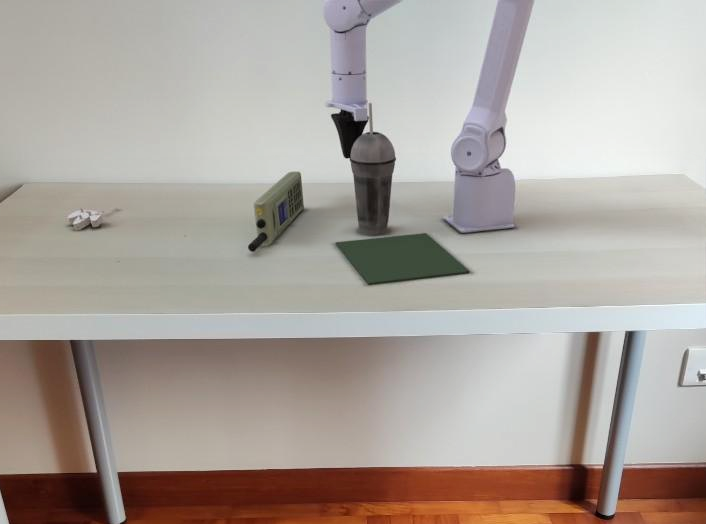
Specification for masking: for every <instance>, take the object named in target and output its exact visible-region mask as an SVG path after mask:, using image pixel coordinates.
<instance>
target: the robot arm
mask: <svg viewBox="0 0 706 524" xmlns="http://www.w3.org/2000/svg"><path fill="white" fill-rule="evenodd" d="M403 1H404V0H325V1H324V2H323V3H324V4H323V8H322V13H323V17H324V18H323V19H324V21H325V24H326V25H327V26H328V27H329V32H330V34H329V35H330V36H329V37H330V38H329V39H330V71H331V73H330V75H331V100H326V101H325V102H324V105H325V107H327V108H334V109H337V110H340V111H339V112H337V113H331V114H330V117H331V120H332V122H333V123H334V124H333V125H334V126H335V128H336V131H337V135H338V138H339V144H340V148H341V152H342V156H343V158H344V159H350V157H351V150H352V147H353V145H354V143H355V141H356V140H357V139H358V138H359V137H360V136H361V135H362V134H364V130H365V128H366V126H367V124H368V123H369V115H368V107H369V101H368V98H367V95H368V94H367V90H368V89H367V27H368V25H369V23H370V22H371V20H373V19H375V18H376V17H378V16H380V15H381V14H383V13H385V12H386V11H389V10H390V9H392V8H393V7H394V6H397V5H398V4H400V3H402V2H403ZM534 4H535V0H497V2H496V7H495V11H494V15H493V20H492V23H491V27H490V32H489V34H488V35H489V36H488V39H487V44H486V48H485V52H484V56H483V59H482V63H481V68H480V73H479V77H478V79H477V80H478V81H477V85H476V89H475V93H474V98H473V101H472V104H471V105H472V106H471V108H470V110H469V112H468V114H467V115H466V117H465V119H464V121H463V123H462V127H461V131H460V133H459V134H458V135H457V137H456V138H455V139H454V140H453V142H452V144H451V149H450V156H451V161H452V163H453V165H454V166H455V167H454V169H455V171H454V188H453V189H454V190H453V207H452V209H453V211H452V212H453V213H452V215H448V216H447V215H446V216H444V217H443V219H444V221H446V223H448V224H450V225H451V226H452V227H453V228H455V230H457V231H458V232H460V233H462V234H465V233H474V232H482V231H483V232H485V231H495V230H505V229H512V228H515V224H514V211H515V199H516V179H515V176H514V174H513V171H512V170H511V169H510V168H505V167H503V168H502V167H501V163H500V161H499V159H500V158H501V157H502V156H503V154H504V153H505V150H506V148H507V136H506V125H507V122H508V117H507V115H506V108H507V105H508V101H509V97H510V93H511V89H512V86H513V83H514V78H515V75H516V71H517V68H518V63H519V60H520V56H521V53H522V49H523V44H524V40H525V38H526V33H527V30H528V27H529V23H530V19H531V15H532V12H533V7H534Z"/></svg>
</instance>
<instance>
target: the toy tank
mask: <svg viewBox="0 0 706 524" xmlns="http://www.w3.org/2000/svg"><path fill="white" fill-rule="evenodd" d="M112 209H113V207H111V208H110V209H109V210H108V211H107V212H106V214H107V213H110V212H111V210H112ZM115 209H116V211H118V207H115ZM102 213H103V214H104V213H105V212H104V211H102ZM102 213H101V212H100V211H96V210H88V209H87V210H85V209H83V208H82V207H80V208H79V210H76V211H74V212H72V213H70V214H69V215H68V216H67V220H68V223H69V225H73V227H74V230H75V231H80V230H82V229H84V228H85V227H87V226H89V225H90V223H91V226H92V228H98V227H99V226H101V224H102V223H103V221H104V219H103V216H102Z"/></svg>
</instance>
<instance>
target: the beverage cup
mask: <svg viewBox="0 0 706 524" xmlns="http://www.w3.org/2000/svg"><path fill="white" fill-rule="evenodd" d="M368 117H369V120H368V124H369V125H368V126H369V131H367V132H363V134H362V135H361V136H360V137H359V138H358V139H357V140H356V141H355V143H354V145H353V147H352V150H351V157H350V158H349V161H350V167H351V172H352V175H353V186H354V195H355V206H356V216H357V223H358V231H359V233H360V234H362V235H366V236H380V235H381V236H382V235H384V234H386V233H387V231H388V222H389V217H390V206H391V195H392V183H393V174H394V171H395V167H396V161H397V157H396V152H395V151H396V150H395V147H394V145H393V143H392V141H391V140H390V139H389V138H388V137H387V136H386V134H383V133H382V132H379V131H374V129H373V128H374V126H373V125H374V123H373V122H374V121H373V104H372V102H368Z"/></svg>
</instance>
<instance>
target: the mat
mask: <svg viewBox="0 0 706 524" xmlns="http://www.w3.org/2000/svg"><path fill="white" fill-rule="evenodd" d="M335 245H336V246H337V248H338V249H339V250H340V252H341V253H342V254H343V255H344V256H345V257H346V259H347V260H348V261H349V262H350V264H351V265H352V266H353V267H354V268H355V270H356V271H357V273H358V274H359V275H360V276H361V277H362V279H363V280H364V281H365V282H366V284H367V285H369V286H370V285H377V284H387V283H395V282H403V281H412V280H413V281H414V280H421V279H429V278H439V277H447V276H455V275H464V274H470V270H469V269H468V268H467V267H466V266H464V264H462V263H461V262H460V261H459V260H458V259H456V258H455V257H454V256H453V255H452V254H451V253H449V252H448V250H446V249H445V248H444V247H443V246H442V245H441V244H440V243H438V242H437V241H436V240H435V239H433V238H432V237H431V236H430V235H429V234H428V233H427V232H424V233H423V232H422V233H413V234H405V235H394V236H383V237H374V238H366V239H365V238H364V239H356V240H346V241H337V242H335Z"/></svg>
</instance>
